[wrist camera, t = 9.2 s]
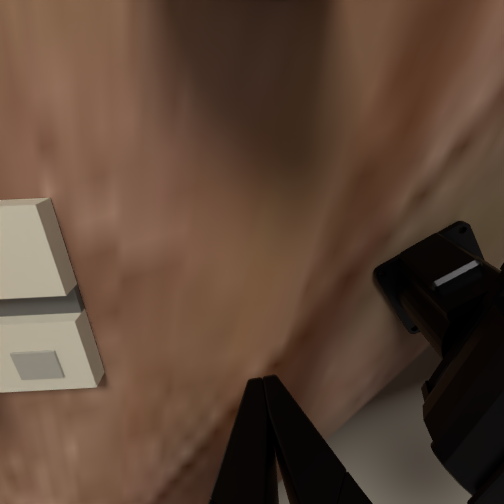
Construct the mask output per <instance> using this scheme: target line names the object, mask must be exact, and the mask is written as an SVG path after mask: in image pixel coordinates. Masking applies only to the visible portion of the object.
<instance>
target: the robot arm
mask: <svg viewBox="0 0 504 504" xmlns="http://www.w3.org/2000/svg"><path fill="white" fill-rule="evenodd" d="M461 227H463V228H462V230H461V231H459V229H460V228H461ZM500 269H501V270H502V271H500V270H498V269H497V268H495V267H494V266H492V265H491V264H489V263H487V262H486V261H485V260H484V258H483V255H482V253H481V251H480V248H479V246H478V243H477V241H476V239H475V236H474V234H473V231H472V229H471V226H470V225H469V224H468V223H466V222H464V221H458V222H455V223H454V224H452V225H450V226H448V227H446V228H445V229H443V230H441V231H439V232H438V233H434V234H433V235H431V236H429V237H427V238H426V239H424V240H422V241H420V242H418V243H417V244H415V245H413V246H411V247H410V248H408V249H406V250H404V251H403V252H401V253H400V254H399V255H397V256H395V257H393V258H392V259H390V260H388V261H386V262H385V263H383V264H381V265H379V266H378V267H376V268H375V270H374V276H375V277H376V279H377V281H378V282H379V284H380V286H381V287H382V289H383V291H384V292H385V294H386V296H387V297H388V299H389V301H390V302H391V304H392V306H393V308H394V309H395V311H396V313H397V314H398V316H399V318H400V319H401V321H402V323H403V324H404V326H405V328H406V329H407V330H408V332H409V333H411V334H415V333H418V332H421V333H422V334H423V335H424V337H425V338H426V339H427V340H428V342H429V343H430V344H431V345H432V347H433V348H434V349H435V350H436V352H437V353H438V354H439V356H440V357H441V358H442V359H443V360H442V361H441V363H440V364H439V366H438V367H437V369H436V370H435V372H434V373H433V375H432V376H431V378H430V379H429V381H425V383H424V384H423V386H422V388H421V390H422V394H423V398H424V402H425V403H424V405H423V418H424V422H425V424H426V427H427V429H428V431H429V434H430V436H431V438H432V440H433V442H432V443H431V448H432V451H433V452H434V454H435V456H436V457H437V458H438V460H439V461H440V462H441V464H442V465H443V466H444V468H445V469H446V470H447V471H448V472H449V474H450V475H451V476H452V477H453V478H454V479H455V480H456V481H457V482H458V483H459V484H460V485H461V486H462V487H463V488H464V489H465V490H466V491H468V492H469V493H470V494H471V495H472V497H471V498H470V499H469V500H468V502H467V504H504V263H503V265H502V266H501V268H500ZM382 271H385V272H384V274H382V275H380V273H381V272H382ZM413 326H414V327H413ZM412 327H413V328H412ZM274 447H275V448H274ZM275 452H276V455H275ZM276 457H277V461H278V464H279V468H280V472H281V475H282V479H283V482H284V485H285V489H286V492H287V496H288V499H289V503H290V504H372V502H371V501H370V500H369V499H368V497H367V496H366V495H365V493H364V492H363V491H362V490H361V488H360V487H359V486H358V484H357V483H356V482H355V481H354V479H353V478H352V476H351V475H350V474H349V472H346V469H345V467H344V466H343V464H342V463H341V462H340V460H339V459H338V458H337V456H336V455H335V454H334V452H333V451H332V450H331V448H330V447H329V446H328V444H327V443H326V441H325V440H324V439H323V437H322V436H321V435H320V433H319V432H318V431H317V429H316V428H315V427H314V425H313V424H312V423H311V421H310V420H309V419H308V417H307V416H306V414H305V413H304V412H303V410H302V409H301V408H300V406H299V405H298V404H297V402H296V401H295V400H294V398H293V397H292V396H291V394H290V393H289V392H288V390H287V389H286V387H285V386H284V385H283V383H282V382H281V381H280V379H279V378H278V377H277V376H276V375H268V376H264V377H263V378H261V377H258V378H253V379H249V380H248V382H247V385H246V388H245V391H244V394H243V397H242V400H241V403H240V406H239V409H238V412H237V416H236V419H235V422H234V425H233V428H232V431H231V434H230V437H229V440H228V443H227V446H226V450H225V453H224V456H223V459H222V462H221V465H220V468H219V471H218V474H217V477H216V480H215V484H214V487H213V490H212V493H211V496H210V497H211V499H210V500H209V502H208V504H279V498H278V482H277V466H276Z"/></svg>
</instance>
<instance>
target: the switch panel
mask: <svg viewBox="0 0 504 504" xmlns="http://www.w3.org/2000/svg"><path fill="white" fill-rule="evenodd" d="M104 373H105V371H104V368H103V365H102V361H101V358H100V355H99V352H98V349H97V346H96V342H95V339H94V336H93V333H92V330H91V326H90V323H89V320H88V317H87V314H86V310H85V307H84V304H83V301H82V298H81V294H80V291H79V288H78V285H77V282H76V279H75V275H74V272H73V269H72V266H71V263H70V259H69V256H68V253H67V250H66V247H65V243H64V240H63V237H62V234H61V231H60V228H59V224H58V221H57V218H56V215H55V212H54V208H53V205H52V202H51V199H50V198H34V199H13V200H0V393H1V392H20V391H39V390H58V389H76V388H95V387H97V386H98V384H99V382H100V380H101V379H102V377H103V375H104Z"/></svg>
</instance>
